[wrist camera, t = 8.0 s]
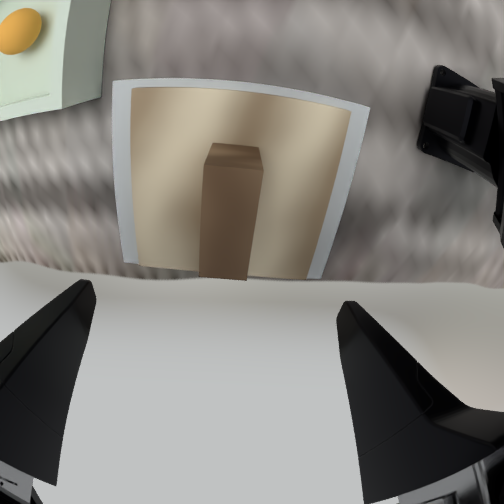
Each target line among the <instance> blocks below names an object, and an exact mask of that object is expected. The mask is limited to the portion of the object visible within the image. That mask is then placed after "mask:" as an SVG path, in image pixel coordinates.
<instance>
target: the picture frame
mask: <svg viewBox="0 0 504 504" xmlns="http://www.w3.org/2000/svg"><path fill="white" fill-rule="evenodd" d="M138 87H197V88H216V89H228V90H239V91H248V92H257V93H264V94H271V95H278V96H284V97H290V98H296V99H301V100H307V101H312V102H316V103H321V104H326V105H330V106H334V107H338V108H342V109H346V110H349V111H351V116H350V120H349V125H348V129H347V134H346V138H345V142H344V146H343V151H342V155H341V159H340V163H339V167H338V171H337V175H336V179H335V182H334V186H333V190H332V194H331V197H330V201H329V205H328V208H327V212H326V215H325V219H324V222H323V226H322V229H321V233H320V236H319V239H318V243H317V246H316V249H315V253H314V256H313V259H312V262H311V266H310V269H309V272H308V275H307V278H314V279H321V276H322V273H323V271H324V268H325V265H326V262H327V259H328V256H329V253H330V250H331V247H332V244H333V241H334V238H335V235H336V232H337V229H338V226H339V222H340V219H341V216H342V213H343V209H344V206H345V203H346V199H347V196H348V193H349V189H350V186H351V182H352V179H353V175H354V171H355V168H356V164H357V160H358V156H359V153H360V149H361V145H362V141H363V137H364V133H365V128H366V124H367V120H368V116H369V111H370V107H367V106H364V105H360V104H357V103H353V102H349V101H346V100H342V99H338V98H334V97H330V96H325V95H321V94H316V93H312V92H307V91H302V90H296V89H291V88H285V87H279V86H272V85H265V84H258V83H249V82H240V81H229V80H216V79H197V78H147V79H128V80H116V81H113V89H112V153H113V172H114V186H115V197H116V207H117V216H118V225H119V232H120V239H121V246H122V253H123V259H124V262H126V263H136V264H139V260H138V252H137V243H136V234H135V224H134V213H133V199H132V183H131V155H130V116H131V90H132V88H138Z"/></svg>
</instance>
